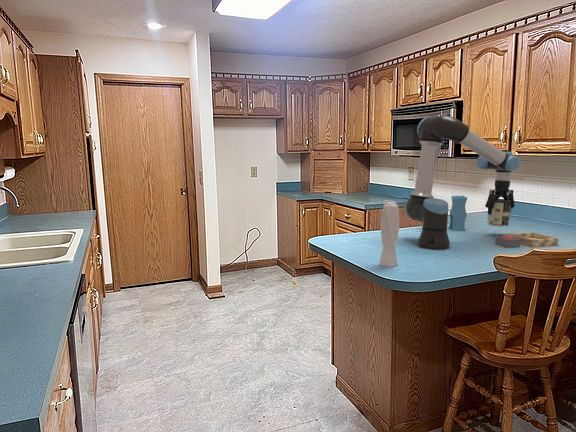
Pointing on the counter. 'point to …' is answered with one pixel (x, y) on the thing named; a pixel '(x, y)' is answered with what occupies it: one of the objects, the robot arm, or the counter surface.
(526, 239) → the woven basket tray
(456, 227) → the vase
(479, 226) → the counter surface
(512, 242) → the button box
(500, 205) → the coffee can
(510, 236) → the button
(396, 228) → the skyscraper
